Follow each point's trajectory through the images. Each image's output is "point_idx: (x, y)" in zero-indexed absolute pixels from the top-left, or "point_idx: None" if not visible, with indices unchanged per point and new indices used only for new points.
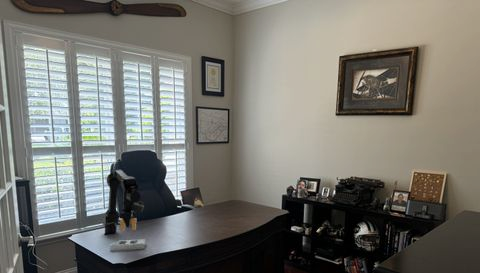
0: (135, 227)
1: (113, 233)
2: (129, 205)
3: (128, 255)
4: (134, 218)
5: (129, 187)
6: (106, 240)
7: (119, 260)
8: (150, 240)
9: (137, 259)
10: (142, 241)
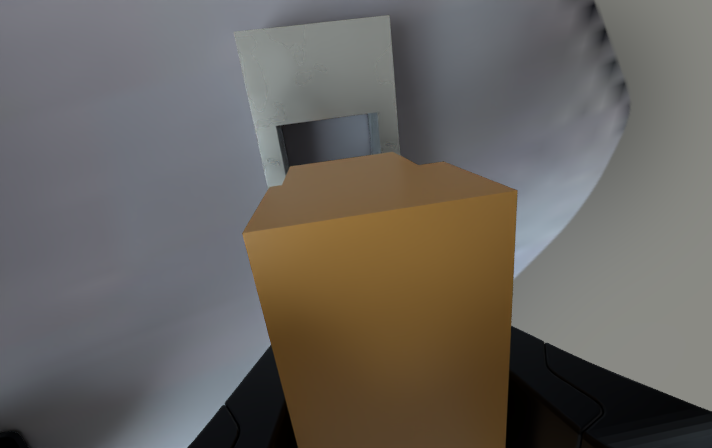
0: (356, 163)
1: (8, 445)
2: None
3: (497, 143)
4: (347, 299)
5: None
6: (175, 423)
7: (572, 183)
8: (109, 7)
9: (594, 35)
10: (320, 51)
